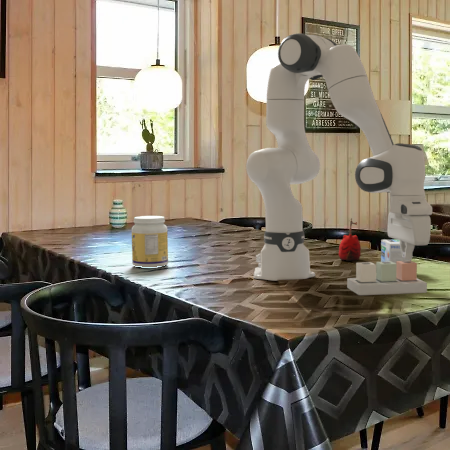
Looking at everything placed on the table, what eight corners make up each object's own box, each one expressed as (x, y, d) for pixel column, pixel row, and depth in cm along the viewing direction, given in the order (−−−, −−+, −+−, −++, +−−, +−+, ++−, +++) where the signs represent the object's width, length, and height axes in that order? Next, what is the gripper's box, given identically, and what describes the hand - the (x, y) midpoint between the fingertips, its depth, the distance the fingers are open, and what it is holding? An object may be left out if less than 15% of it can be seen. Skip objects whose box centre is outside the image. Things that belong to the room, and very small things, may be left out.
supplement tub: (130, 264, 227) (129, 216, 225) (165, 262, 229) (164, 215, 228) (134, 270, 215) (132, 219, 213) (171, 268, 218) (169, 217, 216)
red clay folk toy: (359, 258, 231) (359, 216, 230) (361, 261, 224) (362, 218, 223) (337, 258, 232) (338, 216, 231) (339, 261, 225) (339, 218, 224)
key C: (396, 277, 174) (396, 260, 174) (410, 277, 174) (410, 260, 174) (401, 280, 170) (402, 263, 170) (416, 280, 170) (416, 262, 170)
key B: (376, 278, 173) (376, 261, 173) (390, 278, 174) (390, 261, 173) (381, 281, 169) (381, 263, 169) (396, 280, 170) (396, 263, 169)
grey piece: (347, 291, 176) (347, 278, 176) (411, 288, 178) (411, 275, 178) (358, 298, 166) (359, 285, 166) (426, 296, 168) (426, 282, 168)
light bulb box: (380, 273, 201) (380, 239, 200) (401, 273, 201) (402, 238, 200) (389, 280, 191) (389, 243, 190) (412, 279, 191) (412, 243, 190)
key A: (356, 279, 173) (356, 262, 172) (370, 278, 173) (370, 261, 173) (360, 282, 169) (361, 264, 168) (375, 281, 169) (376, 264, 169)
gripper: (381, 203, 180) (381, 253, 182) (410, 209, 160) (410, 264, 161) (403, 203, 181) (403, 252, 182) (435, 208, 161) (434, 263, 162)
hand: (406, 258), depth 172 cm, fingers closed
